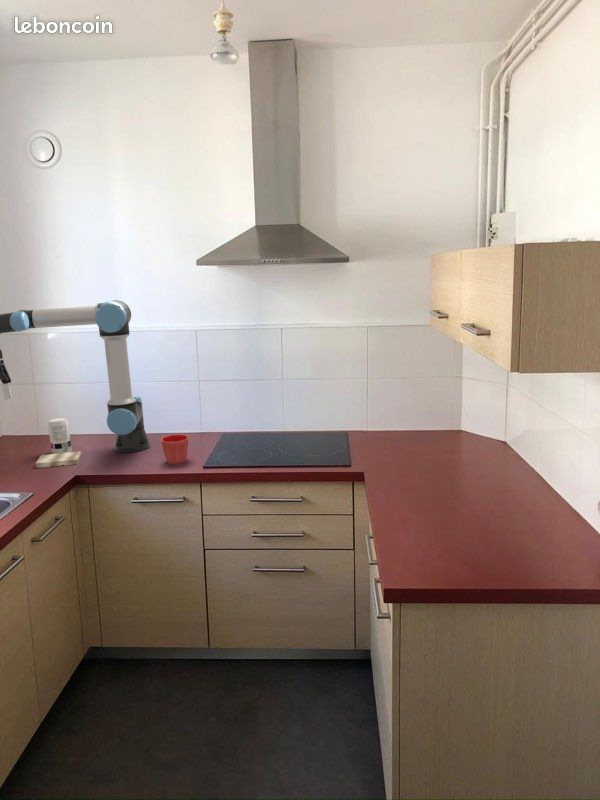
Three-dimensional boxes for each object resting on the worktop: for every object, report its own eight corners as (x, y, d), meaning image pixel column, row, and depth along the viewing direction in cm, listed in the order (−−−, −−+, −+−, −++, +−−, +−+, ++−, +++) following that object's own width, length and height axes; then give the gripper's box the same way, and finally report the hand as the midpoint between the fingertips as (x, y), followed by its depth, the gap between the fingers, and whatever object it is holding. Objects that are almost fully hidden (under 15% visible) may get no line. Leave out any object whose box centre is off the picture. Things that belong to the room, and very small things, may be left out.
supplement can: (47, 455, 268) (43, 421, 264) (61, 449, 275) (57, 417, 272) (62, 456, 265) (58, 422, 261) (76, 451, 272) (71, 418, 269)
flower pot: (182, 465, 246) (180, 442, 244) (158, 464, 249) (156, 441, 247) (194, 457, 255) (192, 434, 253) (171, 456, 259) (169, 433, 257)
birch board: (81, 455, 265) (80, 451, 264) (77, 464, 253) (76, 459, 253) (41, 459, 262) (41, 454, 261) (35, 468, 250) (35, 463, 250)
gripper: (-6, 348, 257) (4, 397, 261) (-34, 354, 233) (-21, 409, 237) (12, 345, 258) (22, 395, 262) (-13, 352, 233) (-1, 407, 237)
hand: (2, 402), depth 249 cm, fingers open, 13 cm apart
